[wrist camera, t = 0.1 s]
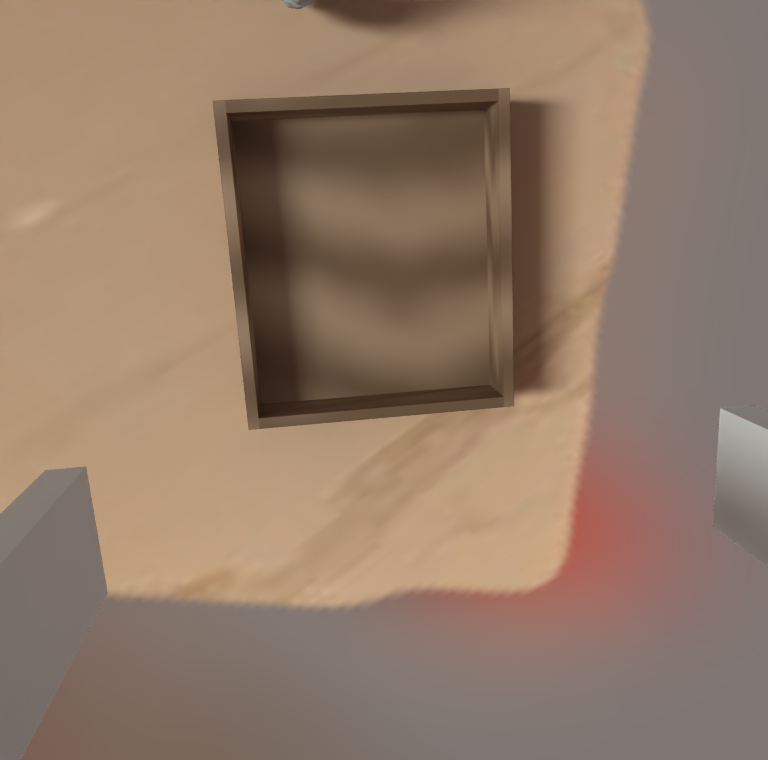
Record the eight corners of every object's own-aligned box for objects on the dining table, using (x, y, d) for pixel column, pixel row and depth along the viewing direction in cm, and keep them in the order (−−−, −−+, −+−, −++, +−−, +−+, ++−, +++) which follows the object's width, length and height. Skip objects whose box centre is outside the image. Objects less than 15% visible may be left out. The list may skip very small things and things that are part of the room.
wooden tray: (221, 112, 38) (212, 100, 34) (490, 100, 39) (509, 88, 36) (253, 411, 42) (248, 429, 38) (496, 390, 43) (513, 406, 40)
